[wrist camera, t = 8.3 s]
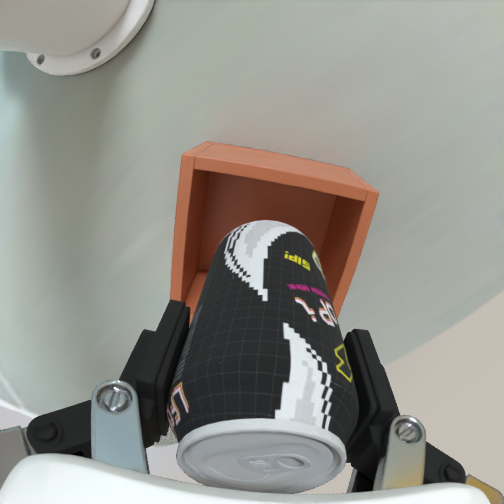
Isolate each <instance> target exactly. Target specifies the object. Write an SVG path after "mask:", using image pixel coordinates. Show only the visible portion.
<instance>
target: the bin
mask: <svg viewBox="0 0 504 504" xmlns="http://www.w3.org/2000/svg"><path fill="white" fill-rule="evenodd" d="M378 196H379V192H378V191H377V190H375V189H374V188H373V187H372V186H370V185H369V184H368V183H367V182H365V181H364V180H363V179H362V178H360V177H359V176H358V175H356V174H355V173H354V172H353V171H351V170H350V169H348V168H344V167H339V166H335V165H331V164H327V163H322V162H318V161H313V160H309V159H304V158H299V157H294V156H290V155H285V154H279V153H274V152H269V151H263V150H258V149H252V148H246V147H240V146H234V145H228V144H221V143H214V142H207V141H206V142H204V143H202V144H200V145H198V146H196V147H195V148H193V149H191V150H189V151H187V152H185V153H184V154H182V159H181V167H180V176H179V185H178V195H177V205H176V216H175V228H174V241H173V255H172V271H171V290H170V300H171V299H172V300H177V301H182V302H185V303H186V306H187V307H190V322H189V323H191V321H192V318H193V315H194V312H195V309H196V306H197V303H198V300H199V297H200V294H201V291H202V288H203V285H204V282H205V279H206V276H207V273H208V271H209V268H210V265H211V262H212V259H213V256H214V253H215V251H216V249H217V247H218V245H219V244H220V242H221V241H222V240H223V239H224V238H225V236H226V235H228V234H229V233H230V232H231V231H233V230H234V229H236V228H237V227H239V226H241V225H243V224H246V223H250V222H253V221H262V220H270V221H278V222H282V223H285V224H288V225H290V226H292V227H294V228H296V229H298V230H299V231H300V232H301V233H303V234H304V235H305V236H306V237H307V238H308V239H309V241H310V242H311V243H312V244H313V246H314V248H315V250H316V252H317V255H318V258H319V261H320V264H321V267H322V270H323V274H324V277H325V280H326V283H327V287H328V290H329V293H330V297H331V300H332V303H333V307H334V310H335V314H336V317H337V318H338V315H339V313H340V310H341V307H342V305H343V302H344V299H345V297H346V294H347V291H348V289H349V286H350V283H351V280H352V277H353V275H354V272H355V269H356V266H357V263H358V260H359V257H360V254H361V251H362V248H363V245H364V242H365V239H366V236H367V233H368V229H369V226H370V223H371V220H372V216H373V213H374V210H375V206H376V203H377V199H378Z"/></svg>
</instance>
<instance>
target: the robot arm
mask: <svg viewBox="0 0 504 504" xmlns="http://www.w3.org/2000/svg"><path fill="white" fill-rule="evenodd" d="M153 4H154V0H0V51H13V52H25V54H26V56H27V58H28V60H29V61H30V62H31V63H32V64H33V65H34V66H35V67H36V68H38V69H39V70H41V71H42V72H45V73H48V74H52V75H62V76H65V75H76V74H80V73H84V72H87V71H90V70H92V69H94V68H96V67H98V66H100V65H102V64H104V63H105V62H106V61H108V60H110V59H111V58H113V57H114V56H115V55H116V54H117V53H119V52H120V51H121V50H122V49H123V48H124V47H125V46H126V45H127V44H128V43H129V42H130V41H131V40H132V39H133V38H134V36H135V35H136V34H137V33H138V31H139V30H140V28H141V27H142V25H143V24H144V22H145V21H146V19H147V17H148V15H149V13H150V11H151V9H152V7H153ZM99 54H100V56H99ZM189 322H190V307H187V306H186V303H185V302H182V301H177V300H172V299H171V300H170V301H169V304H168V306H167V308H166V310H165V312H164V314H163V317H162V319H161V321H160V323H159V325H158V328H157V330H156V332H155V331H150V330H146V329H144V330H143V331H142V333H141V335H140V337H139V339H138V341H137V343H136V345H135V347H134V349H133V351H132V353H131V355H130V357H129V360H128V362H127V364H126V366H125V368H124V370H123V372H122V374H121V376H120V379H119V380H107V381H105V382H102V383H100V384H99V385H98V386H96V388H95V389H94V391H93V393H92V399H91V400H88V401H85V402H82V403H79V404H76V405H73V406H70V407H67V408H64V409H61V410H57V411H54V412H51V413H48V414H44V415H41V416H38V417H36V418H34V419H33V420H32V421H31V422H30V423H29V425H28V427H26V428H21V427H20V426H17V427H12V428H8V429H3V430H0V504H504V497H503V495H502V493H501V492H500V491H499V490H497V489H495V488H493V487H491V486H489V485H488V484H486V483H484V482H482V481H481V480H479V479H477V478H475V477H473V476H472V475H470V474H468V475H467V476H465V471H464V469H463V467H462V466H461V464H460V463H458V462H457V461H456V460H454V459H453V458H451V457H449V456H448V455H446V454H445V453H443V452H442V451H440V450H439V449H437V448H435V447H434V446H432V445H431V444H429V443H428V442H426V431H425V428H424V426H423V425H422V423H421V422H420V421H419V420H417V419H416V418H414V417H412V416H409V415H400V413H399V410H398V407H397V404H396V401H395V398H394V395H393V392H392V389H391V387H390V383H389V381H388V378H387V375H386V372H385V369H384V367H383V365H381V363H380V360H379V358H378V355H377V352H376V349H375V347H374V344H373V341H372V339H371V336H370V333H369V331H368V330H361V329H353V330H352V332H348V333H347V335H346V337H345V339H344V341H343V342H344V346H345V349H346V353H347V357H348V361H349V364H350V368H351V372H352V376H353V380H354V384H355V388H356V392H357V396H358V403H359V416H358V420H357V425H356V428H355V430H354V432H353V433H352V435H351V437H350V438H349V440H348V441H347V443H346V445H345V450H346V456H347V460H346V463H351V466H352V467H353V471H352V475H351V479H350V482H349V486H348V490H347V493H341V494H279V493H262V492H250V491H240V490H231V489H224V488H216V487H210V486H203V485H197V484H192V483H186V482H181V481H177V480H172V479H167V478H162V477H158V476H154V475H150V473H149V466H148V461H147V454H146V448H148V447H150V446H152V445H154V442H158V443H159V440H160V437H161V435H163V436H166V435H167V432H168V428H169V421H168V416H167V403H168V396H169V391H170V388H171V385H172V381H173V378H174V375H175V372H176V369H177V365H178V362H179V359H180V356H181V353H182V349H183V346H184V343H185V340H186V337H187V334H188V331H189Z"/></svg>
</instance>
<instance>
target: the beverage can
mask: <svg viewBox="0 0 504 504" xmlns="http://www.w3.org/2000/svg"><path fill="white" fill-rule="evenodd" d="M167 416H168V421H169V425H170V428H171V429H172V431H173V433H174V435H175V437H176V438H177V440H178V443H179V445H178V450H177V454H176V458H177V462H178V465H179V466H180V468H181V469H182V470H183V471H184V472H185V473H186V474H187V475H188V476H189V477H191V478H192V479H194V480H196V481H197V482H199V483H201V484H203V485H205V486H210V487H216V488H224V489H231V490H240V491H250V492H262V493H279V494H295V493H300V492H304V491H307V490H310V489H313V488H316V487H318V486H321V485H323V484H325V483H327V482H328V481H330V480H332V479H333V478H335V477H336V476H337V475H338V474H339V473H340V472H341V471H342V470H343V468H344V467H345V464H346V460H347V456H346V450H345V445H346V443H347V441H348V440H349V438H350V437H351V435H352V433H353V432H354V430H355V428H356V425H357V420H358V416H359V403H358V396H357V392H356V388H355V384H354V380H353V376H352V372H351V368H350V364H349V361H348V357H347V353H346V349H345V346H344V342H343V338H342V335H341V331H340V328H339V324H338V321H337V317H336V314H335V310H334V307H333V303H332V300H331V297H330V293H329V290H328V287H327V283H326V280H325V277H324V274H323V270H322V267H321V264H320V261H319V258H318V255H317V252H316V250H315V248H314V246H313V244H312V243H311V242H310V241H309V239H308V238H307V237H306V236H305V235H304V234H303V233H301V232H300V231H299V230H298V229H296V228H294V227H292V226H290V225H288V224H285V223H282V222H278V221H270V220H262V221H253V222H250V223H246V224H243V225H241V226H239V227H237V228H236V229H234V230H233V231H231V232H230V233H229V234H228V235H226V236H225V238H224V239H223V240H222V241H221V242H220V244H219V245H218V247H217V249H216V251H215V253H214V256H213V259H212V262H211V265H210V268H209V271H208V273H207V276H206V279H205V282H204V285H203V288H202V291H201V294H200V297H199V300H198V303H197V306H196V309H195V312H194V315H193V318H192V321H191V325H190V328H189V331H188V334H187V337H186V340H185V343H184V346H183V349H182V353H181V356H180V359H179V362H178V365H177V369H176V372H175V375H174V378H173V381H172V385H171V388H170V391H169V396H168V403H167Z"/></svg>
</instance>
